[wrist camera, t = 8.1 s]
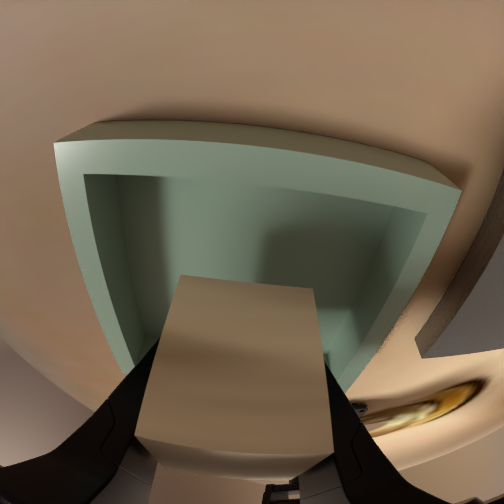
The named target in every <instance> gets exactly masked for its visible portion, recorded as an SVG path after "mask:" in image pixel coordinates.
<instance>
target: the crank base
mask: <svg viewBox="0 0 504 504" xmlns="http://www.w3.org/2000/svg"><path fill="white" fill-rule="evenodd" d="M415 341H416V344H417V347H418V349H419V352H420V355H421V358H422V359H423V358H435V357H445V356H454V355H462V354H470V353H477V352H484V351H490V350H496V349H502V348H504V171H503V174H502V177H501V180H500V183H499V185H498V188H497V191H496V193H495V196H494V198H493V201H492V203H491V206H490V208H489V211H488V213H487V215H486V218H485V220H484V222H483V224H482V226H481V229H480V231H479V233H478V235H477V237H476V239H475V241H474V243H473V245H472V247H471V249H470V251H469V253H468V255H467V257H466V258H465V260H464V262H463V264H462V266H461V268H460V269H459V271H458V273H457V275H456V276H455V278H454V280H453V282H452V283H451V285H450V287H449V288H448V290H447V292H446V293H445V295H444V296H443V298H442V300H441V301H440V303H439V304H438V306H437V307H436V309H435V310H434V312H433V313H432V315H431V316H430V318H429V319H428V321H427V322H426V324H425V325H424V326H423V328H422V329H421V331H420V332H419V333H418V335H417V336H416V337H415Z"/></svg>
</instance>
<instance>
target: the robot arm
mask: <svg viewBox="0 0 504 504" xmlns="http://www.w3.org/2000/svg"><path fill="white" fill-rule="evenodd" d="M160 338H161V337H160ZM160 338H159V339H158V340H157V341H156V342H155V344H154V345H153V346H152V347H151V348H150V349H149V350H148V352H147V353H146V354H145V355H144V356H143V357H142V359H141V360H140V361H139V362H138V363H137V364H136V365H135V367H134V368H133V369H132V370H131V371H130V372H129V374H128V375H127V376H126V377H125V378H124V379H123V381H122V382H121V383H120V384H119V385H118V386H117V388H116V389H115V390H114V391H113V392H112V393H111V395H110V396H109V397H108V399H106V400H105V401H104V403H103V404H102V405H101V406H100V407H99V408H98V409H97V411H96V412H95V413H94V414H93V415H92V416H91V417H90V418H89V419H88V420H87V421H86V422H85V423H84V424H83V425H82V426H81V427H80V428H78V429H77V430H76V431H75V432H74V433H73V434H72V435H71V436H70V437H68V438H67V439H66V440H65V441H64V442H63V443H62V444H61V445H59V446H58V447H57V448H56V449H54V450H53V451H51V452H49V453H47V454H45V455H42V456H39V457H36V458H33V459H30V460H27V461H24V462H21V463H17V464H14V465H11V466H6V467H3V466H1V465H0V504H148V501H149V497H150V492H151V488H152V483H153V479H154V475H155V471H156V467H157V463H158V461H157V460H156V459H155V458H154V457H153V456H152V455H151V454H150V453H149V452H148V450H147V449H146V448H145V447H144V446H143V445H142V444H141V443H140V441H139V440H138V439H137V438H136V437H135V436H134V434H135V430H136V426H137V422H138V418H139V414H140V410H141V406H142V402H143V398H144V394H145V390H146V387H147V383H148V379H149V376H150V372H151V368H152V365H153V361H154V358H155V354H156V351H157V348H158V344H159V341H160ZM324 365H325V373H326V381H327V389H328V397H329V406H330V416H331V426H332V436H333V448H334V453H332V454H331V455H329V456H328V457H326V458H325V459H323V460H322V461H320V462H319V463H317V464H316V465H314V466H313V467H311V468H310V469H308V470H306V471H305V472H303V473H301V474H300V475H298V476H296V477H295V478H293V479H291V480H289V484H282V485H275V484H267V485H266V489H265V492H264V494H263V500H262V504H451V503H449V502H446V501H444V500H442V499H440V498H437V497H435V496H433V495H431V494H429V493H427V492H425V491H423V490H421V489H419V488H417V487H415V486H413V485H412V484H410V483H409V482H407V481H406V480H405V479H404V478H403V477H402V476H401V475H400V473H399V472H398V471H397V470H396V468H395V467H394V466H393V465H392V463H391V462H390V461H389V460H388V458H387V457H386V456H385V455H384V454H383V452H382V451H381V450H380V448H379V447H378V446H377V444H376V443H375V442H374V440H373V439H372V437H371V435H370V434H369V432H368V431H367V429H366V428H365V426H364V424H363V423H362V422H361V419H360V417H361V416H362V415H363V414H364V413H365V412H366V411H367V410H368V408H367V405H351V403H350V401H349V400H348V398H347V397H346V395H345V393H344V392H343V390H342V388H341V387H340V385H339V384H338V382H337V380H336V379H335V377H334V375H333V374H332V372H331V370H330V369H329V367H328V366H327V364H326V362H325V361H324ZM295 494H300V498H299V499H289V498H288V495H295ZM455 504H504V494H501V495H499V496H497V497H494V498H492V499H489V500H486V501H484V502H483V501H482V500H480V499H479V498H477V497H473V498H470V499H467V500H464V501H461V502H458V503H455Z"/></svg>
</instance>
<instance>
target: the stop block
mask: <svg viewBox="0 0 504 504" xmlns="http://www.w3.org/2000/svg"><path fill="white" fill-rule="evenodd" d="M134 436H135V437H136V438H137V439H138V440H139V441H140V443H141V444H142V445H143V446H144V447H145V448H146V449H147V450H148V452H149V453H150V454H151V455H152V456H153V457H154V458H155V459H156V460H157V461H158V462H159V463H160V464H161V465H162V466H163V467H164V468H165V469H169V470H174V471H180V472H185V473H192V474H198V475H206V476H215V477H223V478H236V479H251V480H291V479H293V478H295V477H296V476H298V475H300V474H301V473H303V472H305V471H306V470H308V469H310V468H311V467H313V466H314V465H316V464H317V463H319V462H320V461H322V460H323V459H325V458H326V457H328V456H329V455H331V454H332V453H334V448H333V436H332V426H331V416H330V406H329V397H328V389H327V381H326V373H325V365H324V357H323V350H322V343H321V336H320V330H319V323H318V317H317V310H316V304H315V298H314V292H313V289H312V288H301V287H290V286H279V285H269V284H259V283H250V282H240V281H231V280H222V279H214V278H205V277H197V276H188V275H180V278H179V281H178V284H177V287H176V290H175V293H174V296H173V299H172V302H171V306H170V309H169V312H168V315H167V318H166V321H165V325H164V328H163V331H162V334H161V338H160V341H159V344H158V348H157V351H156V354H155V358H154V361H153V365H152V368H151V372H150V376H149V379H148V383H147V387H146V390H145V394H144V398H143V402H142V406H141V410H140V414H139V418H138V422H137V426H136V430H135V434H134Z"/></svg>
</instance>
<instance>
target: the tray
mask: <svg viewBox="0 0 504 504" xmlns="http://www.w3.org/2000/svg"><path fill="white" fill-rule="evenodd" d="M54 150H55V157H56V165H57V171H58V177H59V183H60V189H61V194H62V199H63V204H64V209H65V213H66V217H67V222H68V226H69V230H70V234H71V238H72V241H73V245H74V249H75V252H76V256H77V259H78V263H79V266H80V269H81V272H82V275H83V278H84V281H85V284H86V287H87V290H88V293H89V296H90V299H91V301H92V304H93V307H94V310H95V312H96V315H97V317H98V320H99V322H100V325H101V327H102V330H103V332H104V334H105V337H106V339H107V341H108V344H109V346H110V348H111V350H112V353H113V355H114V357H115V359H116V361H117V363H118V365H119V368H120V370H121V372H122V373H124V374H129V372H130V371H131V370H132V369H133V368H134V367H135V365H136V364H137V363H138V362H139V361H140V360H141V359H142V357H143V356H144V355H145V354H146V353H147V352H148V350H149V349H150V348H151V347H152V346H153V345H154V344H155V342H156V341H157V340H158V339H159V338H160V337H161V334H162V331H163V328H164V325H165V321H166V318H167V315H168V312H169V309H170V306H171V302H172V299H173V296H174V293H175V290H176V287H177V284H178V281H179V278H180V275H188V276H197V277H205V278H214V279H222V280H231V281H240V282H250V283H259V284H269V285H279V286H290V287H301V288H312V289H313V292H314V298H315V304H316V310H317V317H318V323H319V330H320V336H321V343H322V350H323V357H324V361H325V362H326V364H327V366H328V367H329V369H330V370H331V372H332V374H333V375H334V377H335V379H336V380H337V382H338V384H339V385H340V387H341V388H342V390H343V392H344V393H346V391H347V390H348V389H349V388H350V386H351V385H352V384H353V383H354V381H355V380H356V379H357V377H358V376H359V375H360V373H361V372H362V371H363V369H364V368H365V367H366V365H367V364H368V363H369V361H370V360H371V359H372V357H373V356H374V354H375V353H376V351H377V350H378V349H379V347H380V346H381V344H382V343H383V341H384V340H385V338H386V337H387V335H388V334H389V332H390V331H391V329H392V328H393V326H394V325H395V323H396V322H397V320H398V318H399V317H400V315H401V314H402V312H403V310H404V309H405V307H406V305H407V304H408V302H409V300H410V299H411V297H412V295H413V293H414V292H415V290H416V288H417V286H418V285H419V283H420V281H421V279H422V277H423V275H424V273H425V272H426V270H427V268H428V266H429V264H430V262H431V260H432V258H433V256H434V254H435V252H436V250H437V248H438V246H439V244H440V242H441V239H442V237H443V235H444V233H445V231H446V229H447V226H448V224H449V222H450V219H451V217H452V215H453V212H454V210H455V207H456V205H457V202H458V200H459V197H460V195H461V192H462V190H461V189H460V188H458V187H457V186H456V185H455V184H454V183H452V182H451V181H450V180H449V179H448V178H446V177H445V176H444V175H443V174H441V173H440V172H439V171H438V170H436V169H435V168H434V167H432V166H431V165H430V164H429V163H427V162H426V161H423V160H419V159H416V158H413V157H409V156H406V155H402V154H399V153H395V152H392V151H388V150H384V149H380V148H376V147H372V146H368V145H364V144H359V143H355V142H350V141H346V140H341V139H336V138H331V137H326V136H321V135H315V134H309V133H303V132H297V131H291V130H284V129H276V128H269V127H261V126H252V125H242V124H231V123H218V122H201V121H175V120H135V121H109V122H94V123H92V124H90V125H88V126H86V127H84V128H82V129H80V130H77V131H75V132H73V133H71V134H70V135H68V136H66V137H64V138H62V139H60V140H58V141H56V142H54Z"/></svg>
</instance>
